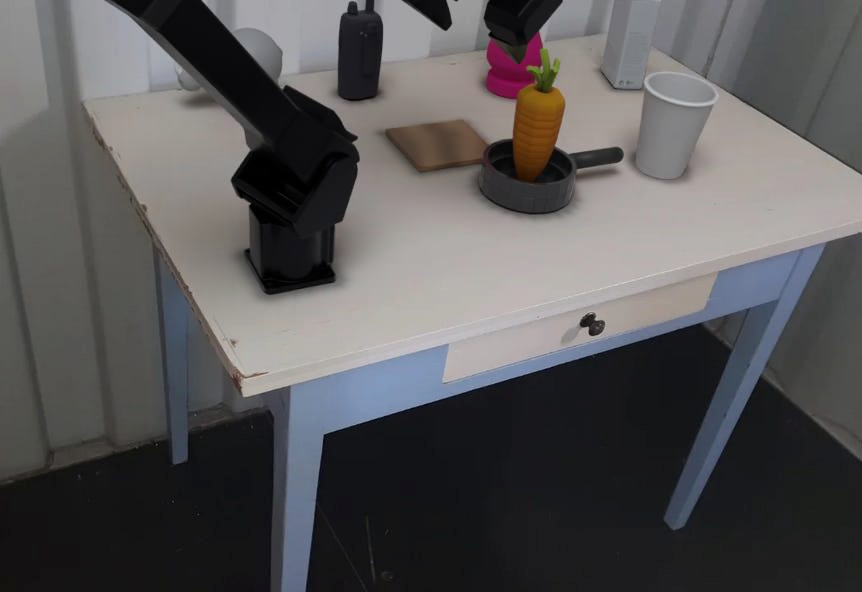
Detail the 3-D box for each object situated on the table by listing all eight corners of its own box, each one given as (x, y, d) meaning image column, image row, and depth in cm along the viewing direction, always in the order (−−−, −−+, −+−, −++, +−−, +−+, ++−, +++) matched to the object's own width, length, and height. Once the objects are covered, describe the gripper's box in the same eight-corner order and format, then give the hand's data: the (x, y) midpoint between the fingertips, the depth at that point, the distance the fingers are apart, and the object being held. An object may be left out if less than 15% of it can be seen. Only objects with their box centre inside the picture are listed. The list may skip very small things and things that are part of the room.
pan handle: (567, 174, 100) (570, 159, 99) (558, 166, 101) (561, 151, 100) (625, 164, 103) (628, 150, 102) (615, 157, 104) (619, 142, 103)
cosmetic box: (642, 90, 125) (665, 1, 117) (611, 89, 123) (633, -1, 116) (627, 70, 129) (648, -17, 122) (597, 69, 128) (616, -19, 120)
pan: (508, 221, 94) (513, 191, 92) (462, 173, 100) (466, 144, 98) (588, 206, 98) (595, 177, 96) (539, 161, 105) (545, 133, 103)
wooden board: (419, 172, 99) (419, 167, 99) (384, 133, 105) (385, 128, 105) (499, 160, 104) (499, 155, 103) (461, 123, 110) (462, 119, 109)
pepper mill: (475, 76, 121) (496, -85, 108) (526, 76, 123) (553, -82, 111) (491, 101, 116) (516, -65, 103) (545, 100, 118) (575, -62, 105)
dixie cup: (640, 142, 112) (661, 64, 106) (704, 166, 109) (729, 87, 103) (612, 167, 106) (632, 85, 100) (679, 193, 103) (704, 111, 97)
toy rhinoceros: (169, 94, 106) (163, 21, 100) (272, 86, 111) (271, 16, 105) (184, 122, 101) (178, 47, 96) (291, 113, 106) (291, 41, 101)
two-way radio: (370, 85, 114) (378, -38, 105) (389, 100, 112) (399, -25, 102) (331, 92, 111) (335, -35, 102) (349, 107, 109) (355, -21, 100)
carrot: (544, 203, 97) (571, 68, 88) (498, 193, 97) (521, 57, 88) (550, 181, 101) (578, 50, 92) (506, 172, 101) (529, 39, 92)
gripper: (586, -125, 72) (611, 16, 86) (413, -182, 80) (462, -45, 94) (500, -24, 70) (540, 103, 84) (332, -94, 78) (394, 33, 92)
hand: (483, 43), depth 88 cm, fingers open, 9 cm apart
